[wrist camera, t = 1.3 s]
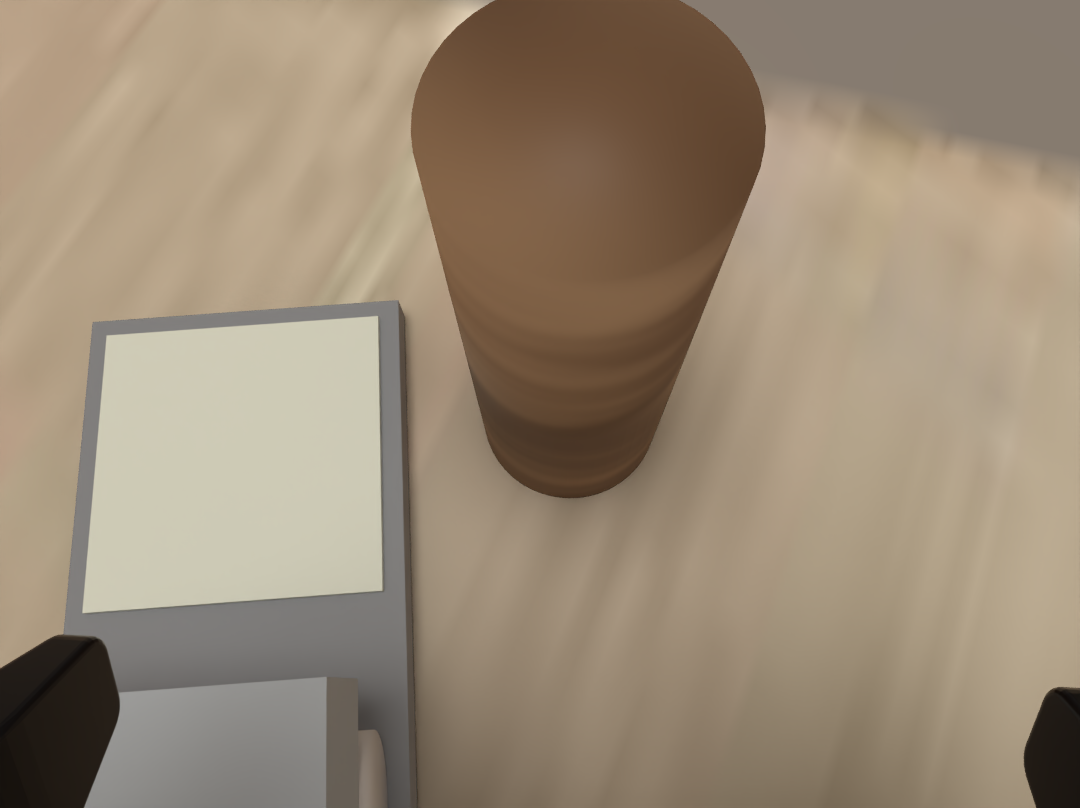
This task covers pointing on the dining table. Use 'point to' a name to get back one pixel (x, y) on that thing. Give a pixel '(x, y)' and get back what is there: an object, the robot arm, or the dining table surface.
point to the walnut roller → (583, 216)
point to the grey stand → (250, 558)
